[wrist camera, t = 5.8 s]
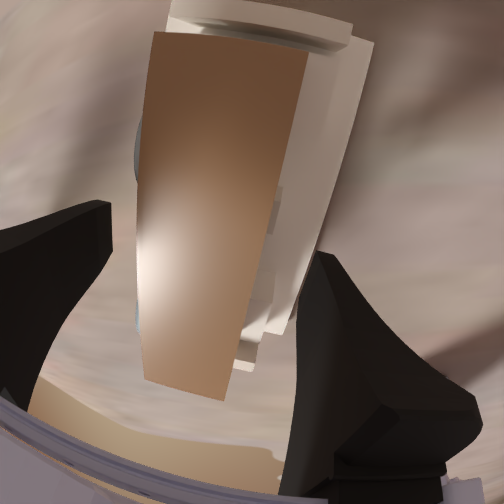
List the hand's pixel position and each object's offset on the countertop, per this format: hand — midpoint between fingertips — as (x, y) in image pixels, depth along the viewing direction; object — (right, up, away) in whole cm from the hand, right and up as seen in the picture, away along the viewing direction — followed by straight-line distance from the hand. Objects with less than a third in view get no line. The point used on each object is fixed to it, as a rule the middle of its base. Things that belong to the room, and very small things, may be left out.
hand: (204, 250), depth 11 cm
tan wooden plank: (0, +2, +2) cm, 3 cm away
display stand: (+1, +3, +5) cm, 6 cm away
